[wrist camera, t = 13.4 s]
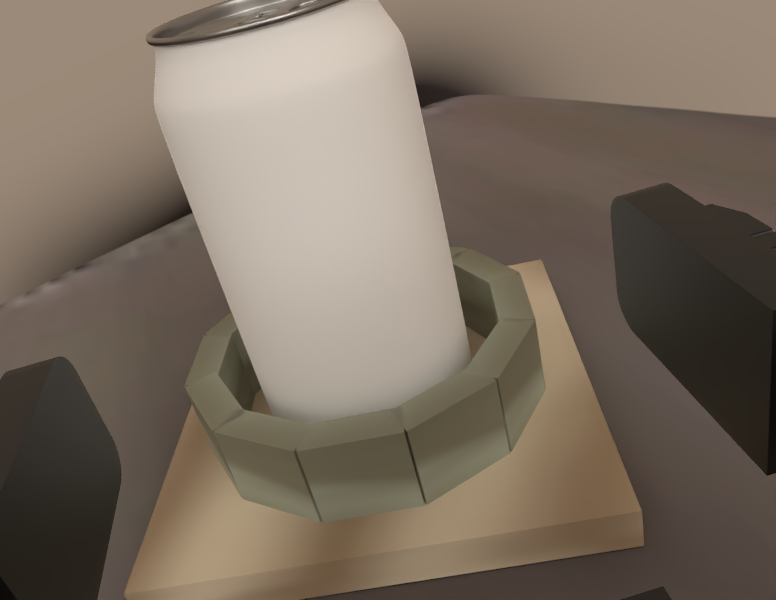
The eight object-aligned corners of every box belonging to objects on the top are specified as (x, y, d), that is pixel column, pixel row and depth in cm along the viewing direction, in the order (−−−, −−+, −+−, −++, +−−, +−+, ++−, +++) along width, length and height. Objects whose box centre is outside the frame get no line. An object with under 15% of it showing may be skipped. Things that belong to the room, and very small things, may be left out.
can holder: (141, 624, 20) (81, 526, 18) (230, 347, 31) (199, 270, 29) (644, 545, 18) (635, 430, 16) (544, 286, 29) (533, 200, 28)
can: (303, 347, 27) (187, 5, 21) (480, 327, 26) (407, -46, 20) (252, 475, 22) (75, 64, 16) (471, 460, 20) (367, 0, 14)
